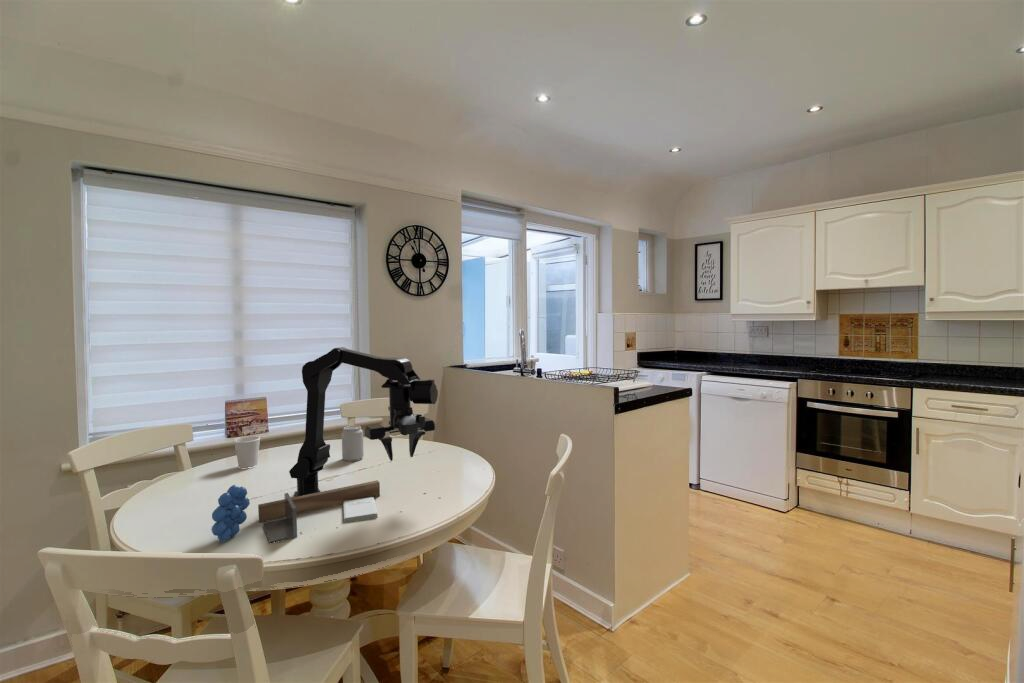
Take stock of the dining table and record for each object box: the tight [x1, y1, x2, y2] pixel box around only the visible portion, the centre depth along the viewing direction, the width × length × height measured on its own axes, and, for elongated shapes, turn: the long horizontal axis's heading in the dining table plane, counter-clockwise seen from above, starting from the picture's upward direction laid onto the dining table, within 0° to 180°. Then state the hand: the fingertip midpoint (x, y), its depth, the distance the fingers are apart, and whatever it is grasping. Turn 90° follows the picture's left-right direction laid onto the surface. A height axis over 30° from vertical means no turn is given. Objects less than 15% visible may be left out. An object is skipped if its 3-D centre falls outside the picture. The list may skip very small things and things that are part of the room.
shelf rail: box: [257, 480, 381, 523], centre depth 129 cm, size 2×31×4 cm, turn 124°
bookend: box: [262, 492, 298, 544], centre depth 114 cm, size 12×6×7 cm, turn 34°
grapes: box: [211, 484, 251, 543], centre depth 112 cm, size 12×7×12 cm, turn 175°
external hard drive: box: [342, 497, 378, 523], centre depth 126 cm, size 2×8×12 cm
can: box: [341, 425, 365, 462], centre depth 174 cm, size 8×8×12 cm
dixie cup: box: [233, 435, 261, 468], centre depth 166 cm, size 8×8×10 cm
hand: (401, 458), depth 132 cm, fingers open, 6 cm apart
